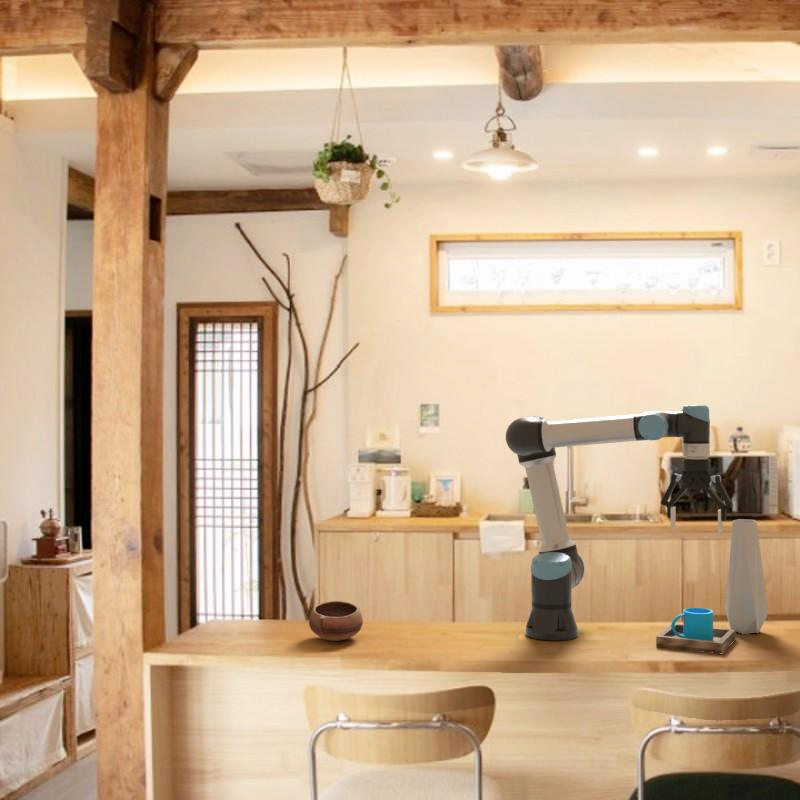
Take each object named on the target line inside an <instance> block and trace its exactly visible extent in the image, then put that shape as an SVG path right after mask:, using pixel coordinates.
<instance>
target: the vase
mask: <svg viewBox="0 0 800 800" xmlns="http://www.w3.org/2000/svg"><path fill="white" fill-rule="evenodd" d="M725 596H726V597H725V605H724V606H725V608H724V609H725V614H726V618H727V621H728V624H729V629H734V630H736V632H738V633H737V634H740V633H743V634H742V635H750V634H749V633H758V634H759V633H760V631H761V629H762V627H763V625H764V623H765V621H766V620H767V617H768V615H769V614H768V613H769V612H768V611H769V610H768V602H767V593H766V586H765V576H764V569H763V562H762V553H761V544H760V537H759V529H758V523H757V521H756V520H755V519H745V518H744V519H743V518H742V519H741V518H739V519H734V520H732V523H731V536H730V547H729V560H728V571H727V583H726V595H725Z"/></svg>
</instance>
